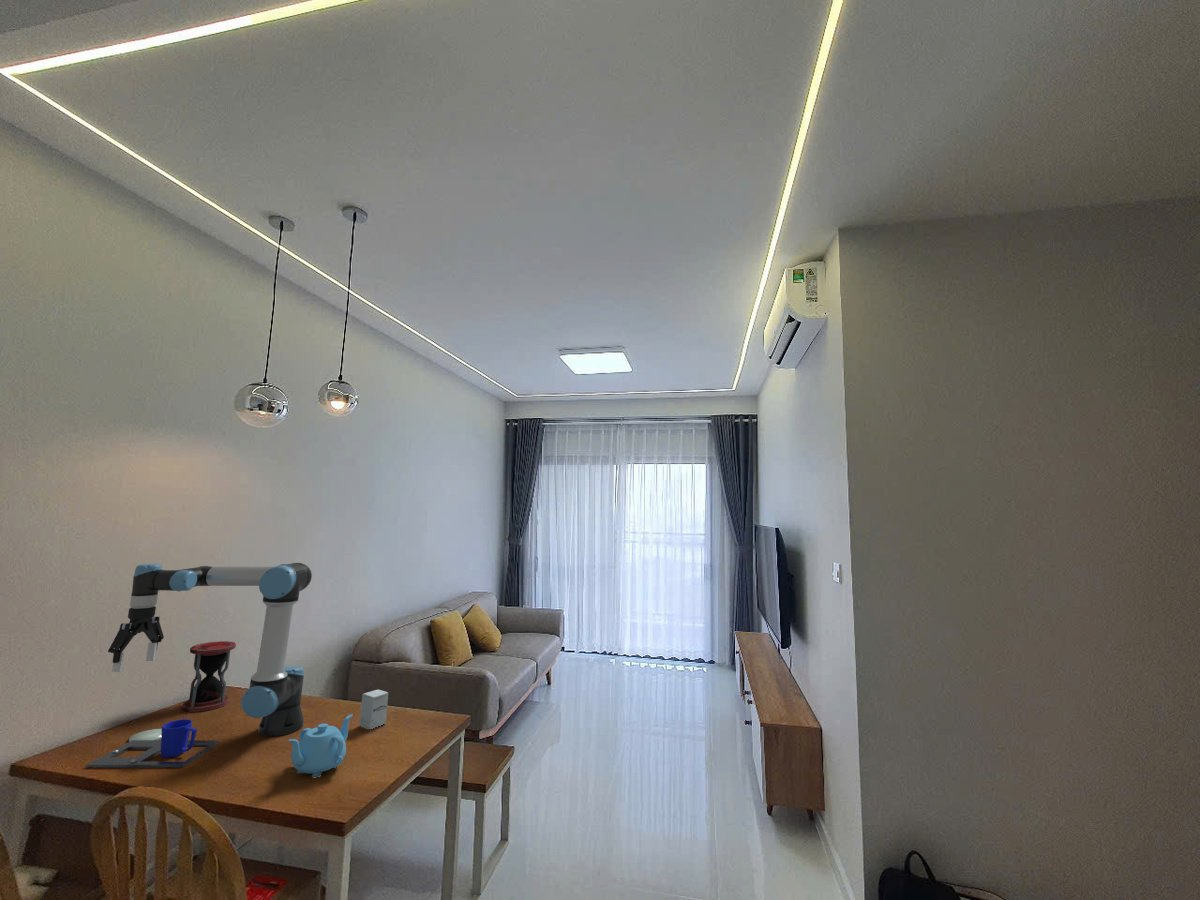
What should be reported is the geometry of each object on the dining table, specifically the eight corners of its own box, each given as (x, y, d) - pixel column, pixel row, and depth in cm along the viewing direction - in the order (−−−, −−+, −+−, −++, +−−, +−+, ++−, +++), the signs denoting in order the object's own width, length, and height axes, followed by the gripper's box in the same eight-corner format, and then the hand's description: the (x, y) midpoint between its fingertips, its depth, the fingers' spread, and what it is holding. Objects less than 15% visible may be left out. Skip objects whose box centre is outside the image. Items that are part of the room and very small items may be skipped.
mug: (179, 762, 169) (183, 731, 171) (151, 758, 172) (155, 727, 173) (203, 751, 177) (207, 721, 179) (175, 747, 180) (179, 718, 181)
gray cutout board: (219, 743, 184) (219, 739, 184) (182, 767, 166) (183, 763, 166) (132, 743, 182) (132, 739, 182) (85, 768, 164) (86, 763, 164)
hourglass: (203, 697, 227) (210, 640, 230) (237, 699, 226) (244, 641, 229) (171, 711, 211) (180, 649, 214) (208, 713, 210) (216, 651, 213)
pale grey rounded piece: (175, 731, 193) (176, 728, 193) (152, 743, 182) (153, 741, 182) (145, 730, 192) (145, 728, 192) (120, 743, 181) (120, 741, 181)
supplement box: (369, 731, 198) (372, 697, 200) (358, 726, 202) (361, 693, 204) (386, 724, 205) (389, 692, 206) (375, 720, 209) (377, 688, 210)
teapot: (282, 786, 157) (287, 739, 159) (298, 757, 175) (302, 715, 177) (340, 780, 162) (344, 734, 164) (349, 752, 180) (353, 711, 182)
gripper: (161, 600, 199) (153, 656, 197) (100, 612, 175) (90, 676, 172) (180, 601, 199) (172, 656, 197) (121, 613, 175) (112, 677, 172)
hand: (134, 666), depth 184 cm, fingers open, 13 cm apart
